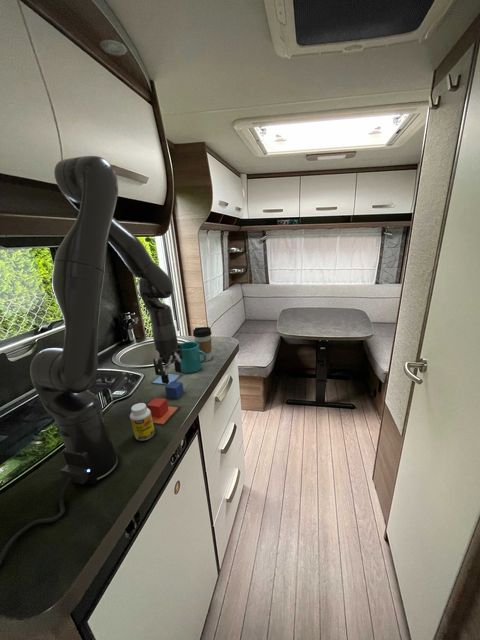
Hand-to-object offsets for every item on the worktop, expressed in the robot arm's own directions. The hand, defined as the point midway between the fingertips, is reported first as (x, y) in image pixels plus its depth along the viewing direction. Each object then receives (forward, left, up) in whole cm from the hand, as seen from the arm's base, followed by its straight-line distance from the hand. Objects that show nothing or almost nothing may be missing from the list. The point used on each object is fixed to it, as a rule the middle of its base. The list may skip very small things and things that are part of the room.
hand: (172, 377), depth 101 cm
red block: (-12, -1, -7) cm, 14 cm away
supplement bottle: (-22, -3, -8) cm, 24 cm away
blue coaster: (+10, +10, -7) cm, 16 cm away
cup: (+21, +3, -8) cm, 22 cm away
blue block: (0, 0, -7) cm, 7 cm away
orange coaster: (-12, -1, -7) cm, 14 cm away
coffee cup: (+32, +3, -8) cm, 33 cm away
